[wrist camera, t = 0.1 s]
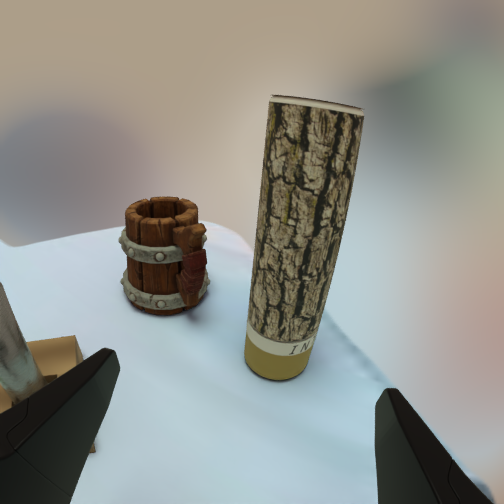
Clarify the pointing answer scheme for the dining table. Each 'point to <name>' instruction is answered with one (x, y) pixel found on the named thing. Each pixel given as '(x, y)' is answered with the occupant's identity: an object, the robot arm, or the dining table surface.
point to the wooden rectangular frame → (50, 363)
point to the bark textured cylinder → (298, 228)
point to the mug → (164, 255)
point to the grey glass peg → (16, 357)
